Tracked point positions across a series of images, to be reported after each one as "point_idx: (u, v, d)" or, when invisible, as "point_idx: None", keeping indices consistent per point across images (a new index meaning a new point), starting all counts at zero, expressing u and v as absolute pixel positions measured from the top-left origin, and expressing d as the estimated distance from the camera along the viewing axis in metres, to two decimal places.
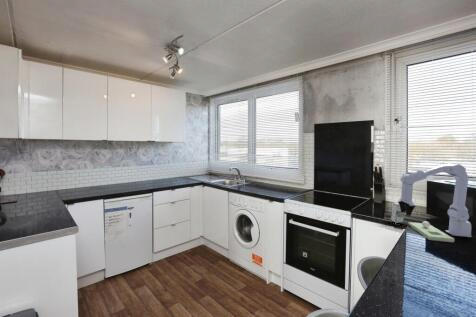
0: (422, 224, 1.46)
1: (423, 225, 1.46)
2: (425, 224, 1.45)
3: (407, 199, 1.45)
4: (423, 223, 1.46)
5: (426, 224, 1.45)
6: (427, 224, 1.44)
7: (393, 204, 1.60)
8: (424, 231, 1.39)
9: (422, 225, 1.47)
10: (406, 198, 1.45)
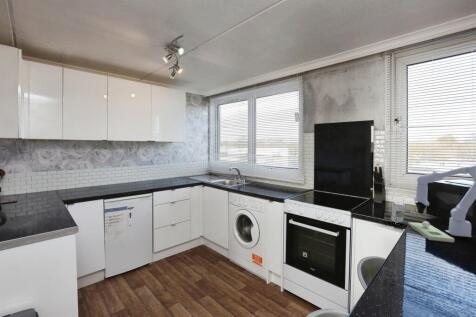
0: (422, 224, 1.46)
1: (423, 225, 1.46)
2: (425, 224, 1.45)
3: (422, 199, 1.50)
4: (423, 223, 1.46)
5: (426, 224, 1.45)
6: (427, 224, 1.44)
7: (393, 204, 1.60)
8: (424, 231, 1.39)
9: (422, 225, 1.47)
10: (421, 198, 1.50)
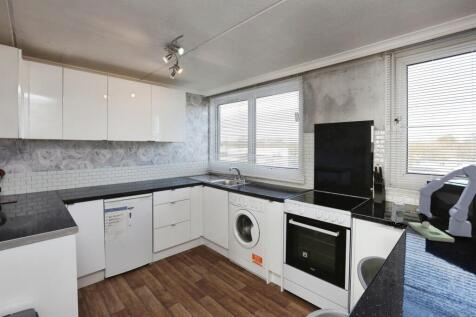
0: (422, 224, 1.46)
1: (423, 225, 1.46)
2: (425, 224, 1.45)
3: (425, 210, 1.46)
4: (423, 223, 1.46)
5: (426, 224, 1.45)
6: (427, 224, 1.44)
7: (393, 204, 1.60)
8: (424, 231, 1.39)
9: (422, 225, 1.47)
10: (424, 209, 1.46)
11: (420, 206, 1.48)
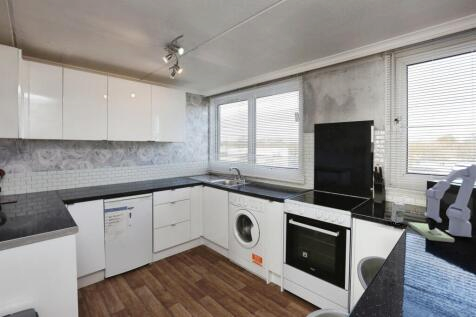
0: (431, 231, 1.37)
1: (432, 231, 1.37)
2: (434, 230, 1.37)
3: (434, 215, 1.37)
4: (432, 230, 1.38)
5: (435, 230, 1.37)
6: (436, 230, 1.36)
7: (393, 204, 1.60)
8: (424, 231, 1.39)
9: (431, 233, 1.37)
10: (433, 214, 1.37)
11: (428, 210, 1.39)
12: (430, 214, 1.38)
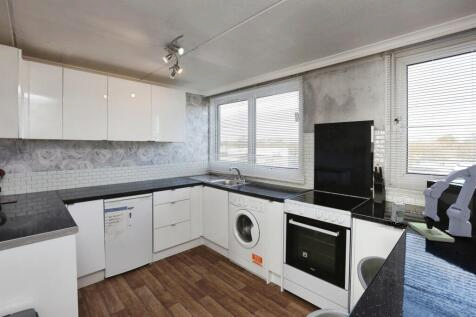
0: (431, 231, 1.37)
1: (432, 231, 1.37)
2: (434, 230, 1.37)
3: (431, 214, 1.39)
4: (432, 230, 1.38)
5: (435, 230, 1.36)
6: (436, 230, 1.36)
7: (393, 204, 1.60)
8: (424, 231, 1.39)
9: (432, 233, 1.37)
10: (430, 213, 1.39)
11: (426, 209, 1.41)
12: (428, 213, 1.40)
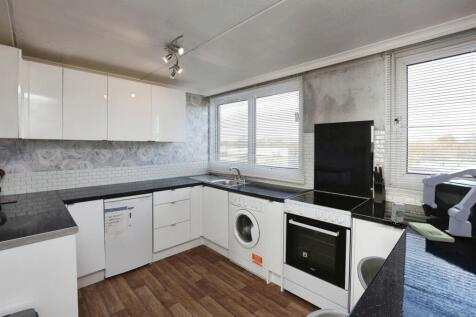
0: (432, 232, 1.37)
1: (433, 232, 1.36)
2: (435, 230, 1.36)
3: (429, 201, 1.43)
4: (432, 230, 1.37)
5: (436, 230, 1.36)
6: (437, 230, 1.36)
7: (393, 204, 1.60)
8: (424, 231, 1.39)
9: (432, 233, 1.37)
10: (428, 200, 1.43)
11: (424, 197, 1.45)
12: (426, 201, 1.44)
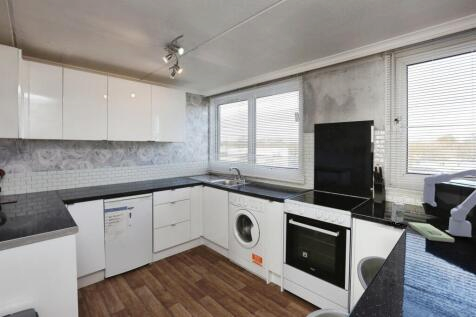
0: (432, 232, 1.37)
1: (433, 232, 1.36)
2: (435, 231, 1.36)
3: (429, 200, 1.47)
4: (433, 230, 1.37)
5: (436, 231, 1.36)
6: (437, 231, 1.35)
7: (393, 204, 1.60)
8: (424, 231, 1.39)
9: (432, 233, 1.37)
10: (428, 199, 1.47)
11: (424, 196, 1.49)
12: (426, 199, 1.48)
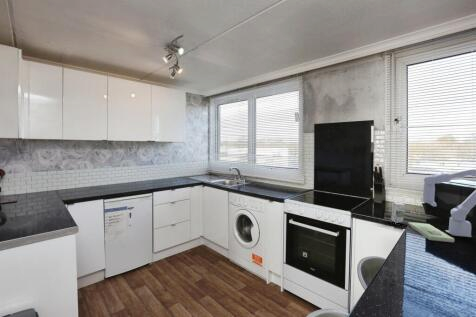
0: (432, 232, 1.37)
1: (433, 233, 1.36)
2: (435, 231, 1.35)
3: (429, 200, 1.47)
4: (433, 231, 1.36)
5: (436, 231, 1.35)
6: (438, 231, 1.35)
7: (393, 204, 1.60)
8: (424, 231, 1.39)
9: (432, 233, 1.36)
10: (428, 199, 1.47)
11: (424, 196, 1.49)
12: (426, 199, 1.48)
